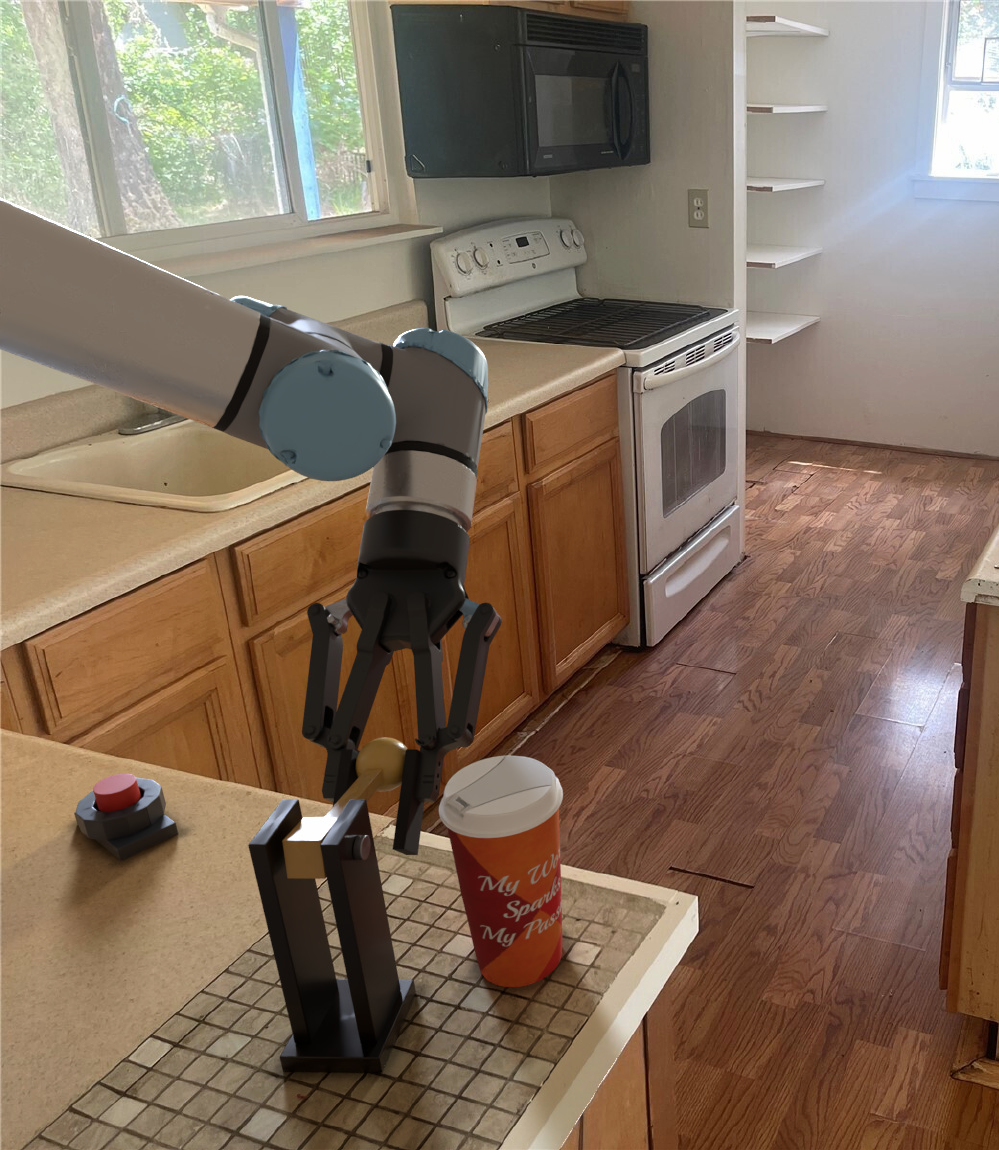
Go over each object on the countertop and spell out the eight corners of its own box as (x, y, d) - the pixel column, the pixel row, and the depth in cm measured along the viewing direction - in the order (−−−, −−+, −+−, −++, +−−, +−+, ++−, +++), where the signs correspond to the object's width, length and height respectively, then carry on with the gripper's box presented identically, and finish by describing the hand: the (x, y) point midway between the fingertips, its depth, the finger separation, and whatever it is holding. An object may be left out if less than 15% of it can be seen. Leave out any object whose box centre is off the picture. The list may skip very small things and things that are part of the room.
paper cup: (504, 1019, 68) (479, 835, 63) (440, 960, 73) (412, 784, 68) (602, 955, 73) (587, 780, 68) (536, 904, 78) (518, 737, 73)
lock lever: (370, 776, 75) (364, 728, 74) (421, 777, 75) (417, 728, 74) (276, 888, 61) (268, 831, 60) (339, 888, 61) (331, 831, 60)
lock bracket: (325, 993, 70) (281, 789, 64) (416, 994, 70) (381, 789, 64) (282, 1073, 64) (229, 856, 58) (382, 1074, 64) (339, 856, 58)
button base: (67, 829, 87) (57, 798, 86) (142, 796, 91) (134, 765, 90) (111, 867, 82) (101, 835, 81) (188, 830, 87) (180, 799, 86)
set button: (91, 804, 86) (86, 785, 85) (130, 787, 88) (125, 769, 87) (108, 817, 84) (102, 799, 83) (147, 800, 86) (142, 781, 85)
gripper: (541, 547, 83) (513, 860, 74) (326, 547, 83) (271, 859, 74) (519, 503, 76) (484, 844, 67) (283, 505, 76) (218, 843, 67)
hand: (372, 851), depth 70 cm, fingers closed on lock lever, 4 cm apart
